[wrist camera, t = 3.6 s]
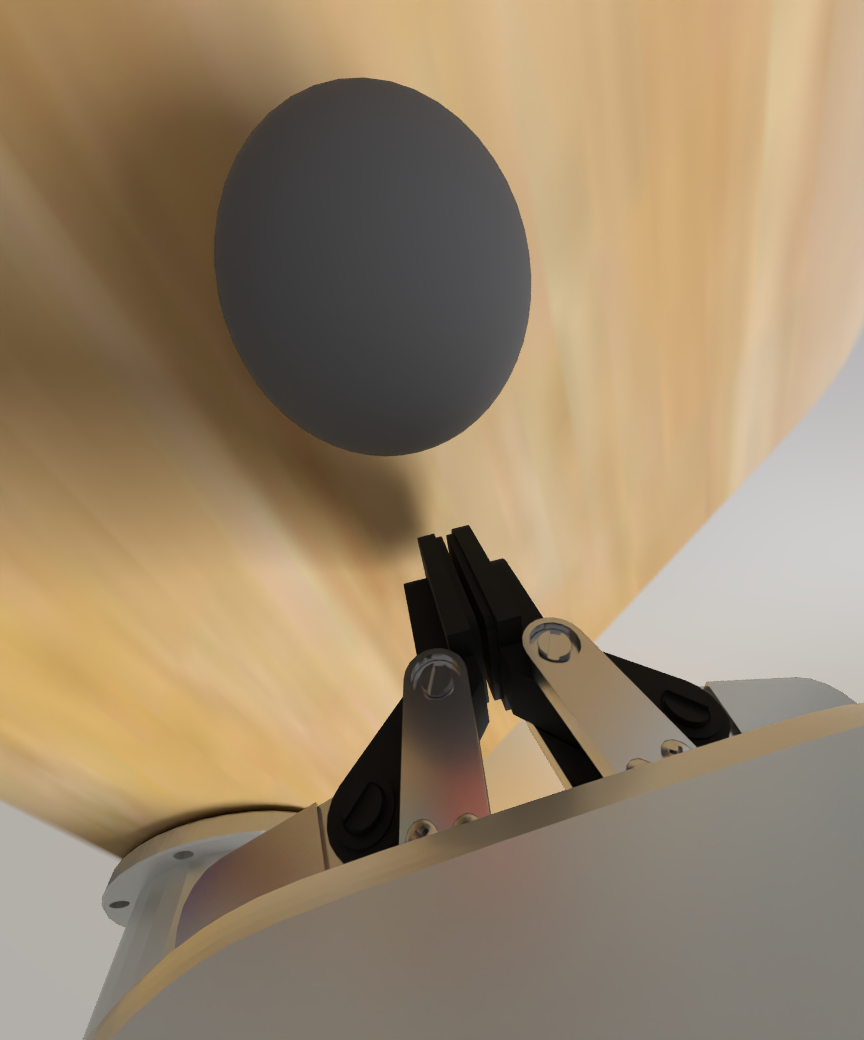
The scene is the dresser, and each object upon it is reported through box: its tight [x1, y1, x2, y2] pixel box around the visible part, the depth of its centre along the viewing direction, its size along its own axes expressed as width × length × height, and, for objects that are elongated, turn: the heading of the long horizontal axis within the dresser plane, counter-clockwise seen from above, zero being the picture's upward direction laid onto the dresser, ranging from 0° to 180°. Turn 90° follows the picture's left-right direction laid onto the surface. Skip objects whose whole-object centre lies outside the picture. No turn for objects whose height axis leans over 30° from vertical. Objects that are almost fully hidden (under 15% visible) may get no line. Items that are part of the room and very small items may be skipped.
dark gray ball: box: [214, 78, 531, 456], centre depth 7 cm, size 6×6×6 cm
